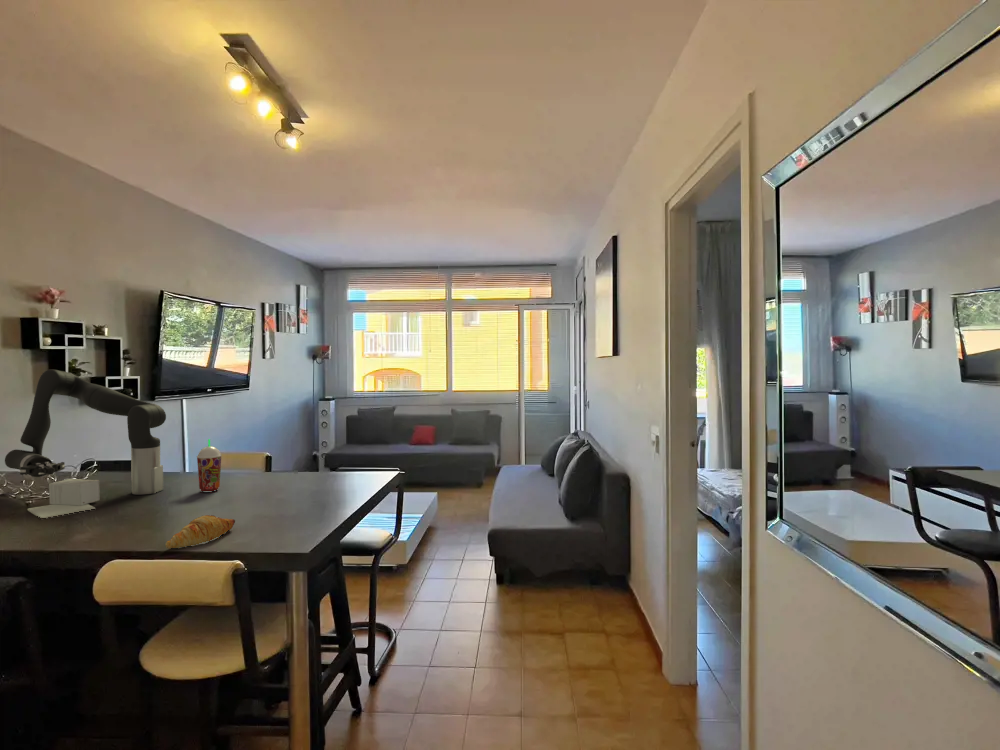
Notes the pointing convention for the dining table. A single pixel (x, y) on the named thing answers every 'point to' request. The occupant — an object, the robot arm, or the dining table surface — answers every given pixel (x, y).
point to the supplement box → (74, 492)
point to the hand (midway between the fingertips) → (50, 471)
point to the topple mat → (58, 510)
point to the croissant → (200, 531)
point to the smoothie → (209, 468)
